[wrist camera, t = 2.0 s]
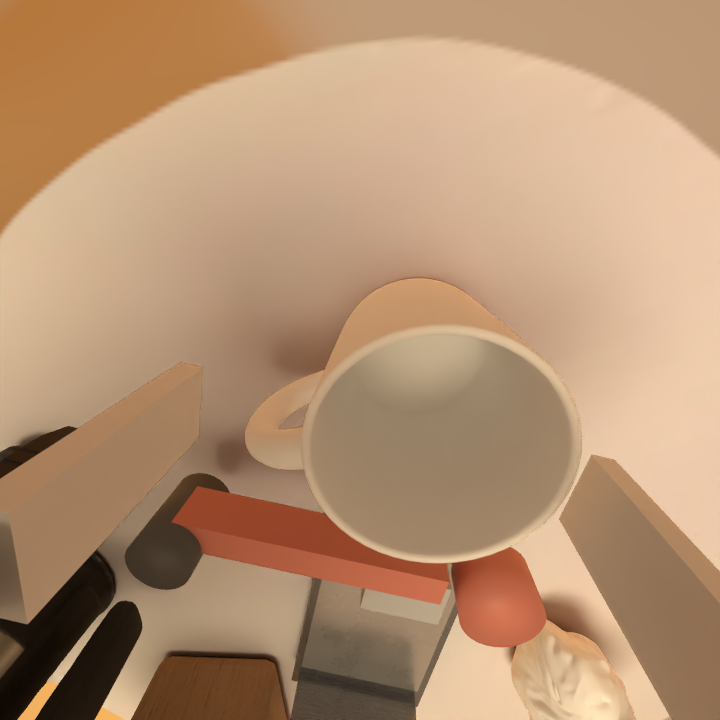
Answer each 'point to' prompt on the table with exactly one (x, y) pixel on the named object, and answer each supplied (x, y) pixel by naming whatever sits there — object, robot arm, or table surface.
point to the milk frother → (67, 646)
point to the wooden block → (213, 690)
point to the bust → (567, 679)
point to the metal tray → (363, 657)
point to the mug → (427, 428)
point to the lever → (333, 561)
